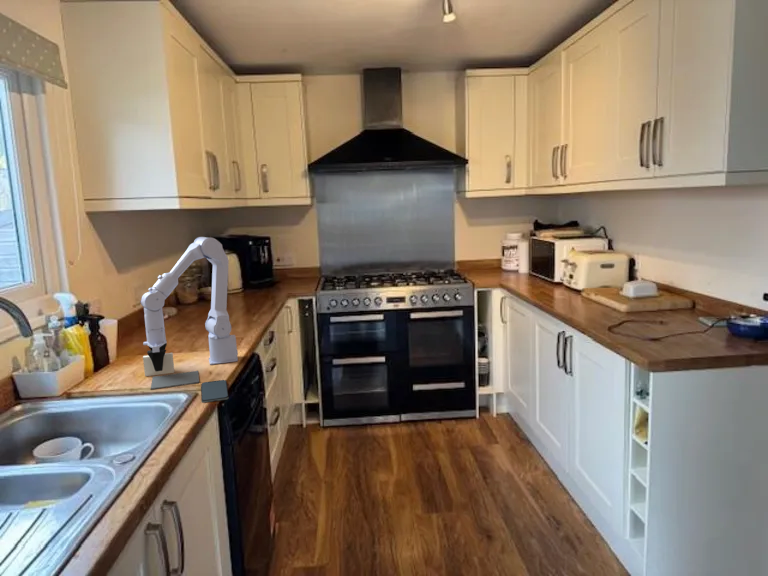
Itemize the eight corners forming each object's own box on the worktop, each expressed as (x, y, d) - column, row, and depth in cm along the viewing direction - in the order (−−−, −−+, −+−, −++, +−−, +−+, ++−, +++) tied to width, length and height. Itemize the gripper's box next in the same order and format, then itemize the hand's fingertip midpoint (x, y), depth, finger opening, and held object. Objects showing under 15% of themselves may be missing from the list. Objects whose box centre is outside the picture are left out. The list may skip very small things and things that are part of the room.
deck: (145, 374, 178) (143, 355, 177) (174, 370, 181) (172, 352, 180) (145, 376, 176) (142, 357, 175) (174, 372, 179) (172, 354, 178)
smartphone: (200, 400, 150) (200, 382, 164) (201, 406, 151) (201, 387, 165) (228, 396, 153) (226, 379, 167) (229, 402, 153) (226, 384, 167)
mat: (198, 371, 179) (198, 370, 179) (199, 382, 167) (199, 381, 167) (152, 377, 174) (152, 376, 174) (150, 389, 163) (150, 388, 163)
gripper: (143, 324, 181) (147, 363, 183) (140, 334, 168) (144, 376, 170) (165, 322, 183) (169, 360, 186) (164, 331, 170) (168, 372, 172)
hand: (159, 367), depth 178 cm, fingers open, 6 cm apart
